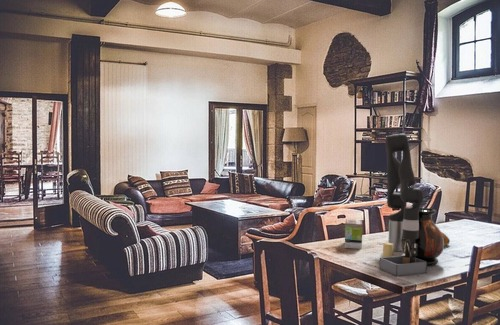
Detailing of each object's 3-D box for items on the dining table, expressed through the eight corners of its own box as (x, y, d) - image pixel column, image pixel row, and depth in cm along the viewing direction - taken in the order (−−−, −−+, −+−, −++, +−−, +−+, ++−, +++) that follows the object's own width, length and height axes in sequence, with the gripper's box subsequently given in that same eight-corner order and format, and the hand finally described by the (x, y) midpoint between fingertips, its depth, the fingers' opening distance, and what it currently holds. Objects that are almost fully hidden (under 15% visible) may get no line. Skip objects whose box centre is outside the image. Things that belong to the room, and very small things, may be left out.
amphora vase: (408, 254, 260) (410, 204, 258) (449, 261, 246) (451, 209, 244) (393, 262, 243) (394, 209, 242) (435, 270, 229) (437, 214, 228)
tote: (408, 265, 237) (408, 255, 237) (426, 273, 224) (427, 261, 224) (379, 268, 231) (379, 257, 231) (396, 276, 219) (396, 264, 218)
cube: (402, 267, 232) (402, 257, 232) (412, 267, 232) (412, 257, 232) (405, 270, 227) (406, 260, 227) (416, 270, 227) (416, 260, 227)
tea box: (362, 249, 272) (362, 224, 271) (344, 248, 274) (345, 223, 273) (361, 243, 286) (362, 219, 286) (344, 242, 288) (345, 218, 288)
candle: (388, 261, 245) (389, 242, 245) (394, 263, 241) (395, 244, 240) (380, 262, 244) (381, 243, 243) (386, 264, 239) (387, 245, 238)
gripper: (423, 231, 221) (422, 266, 222) (413, 225, 235) (412, 258, 236) (408, 231, 221) (406, 265, 222) (398, 225, 235) (397, 257, 236)
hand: (409, 261), depth 229 cm, fingers open, 7 cm apart
